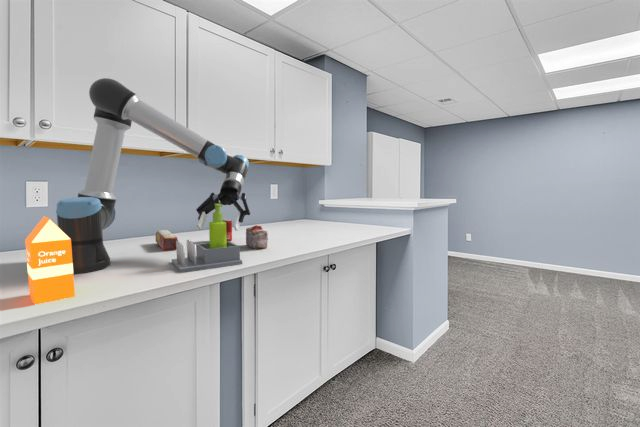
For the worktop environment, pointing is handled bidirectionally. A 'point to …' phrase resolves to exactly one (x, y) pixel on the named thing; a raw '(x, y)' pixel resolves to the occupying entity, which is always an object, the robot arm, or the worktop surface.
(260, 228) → the food item
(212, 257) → the dish rack
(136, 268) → the worktop surface
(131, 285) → the worktop surface
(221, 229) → the soap dispenser
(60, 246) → the orange juice
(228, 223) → the canned food
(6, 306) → the worktop surface
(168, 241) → the snack package
